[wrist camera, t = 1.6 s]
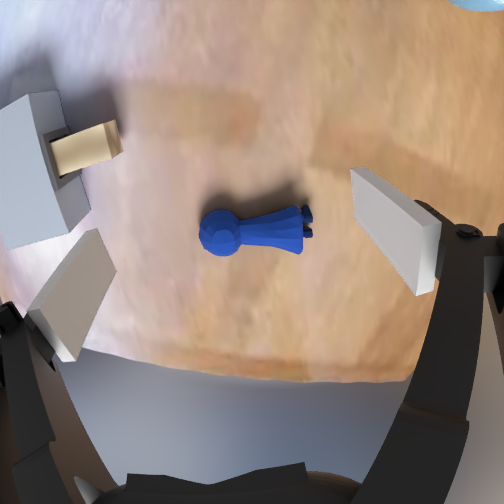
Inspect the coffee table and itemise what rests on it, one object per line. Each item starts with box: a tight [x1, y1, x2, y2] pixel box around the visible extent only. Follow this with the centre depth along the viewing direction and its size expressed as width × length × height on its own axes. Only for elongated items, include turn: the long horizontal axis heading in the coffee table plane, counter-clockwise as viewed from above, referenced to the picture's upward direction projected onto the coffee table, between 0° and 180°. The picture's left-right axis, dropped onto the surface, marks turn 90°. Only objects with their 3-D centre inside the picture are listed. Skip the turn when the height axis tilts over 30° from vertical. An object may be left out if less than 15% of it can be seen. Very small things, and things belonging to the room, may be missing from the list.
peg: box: [50, 119, 123, 176], centre depth 32 cm, size 4×16×4 cm, turn 99°
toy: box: [199, 205, 313, 256], centre depth 40 cm, size 7×6×15 cm
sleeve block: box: [0, 90, 91, 250], centre depth 32 cm, size 18×13×8 cm
